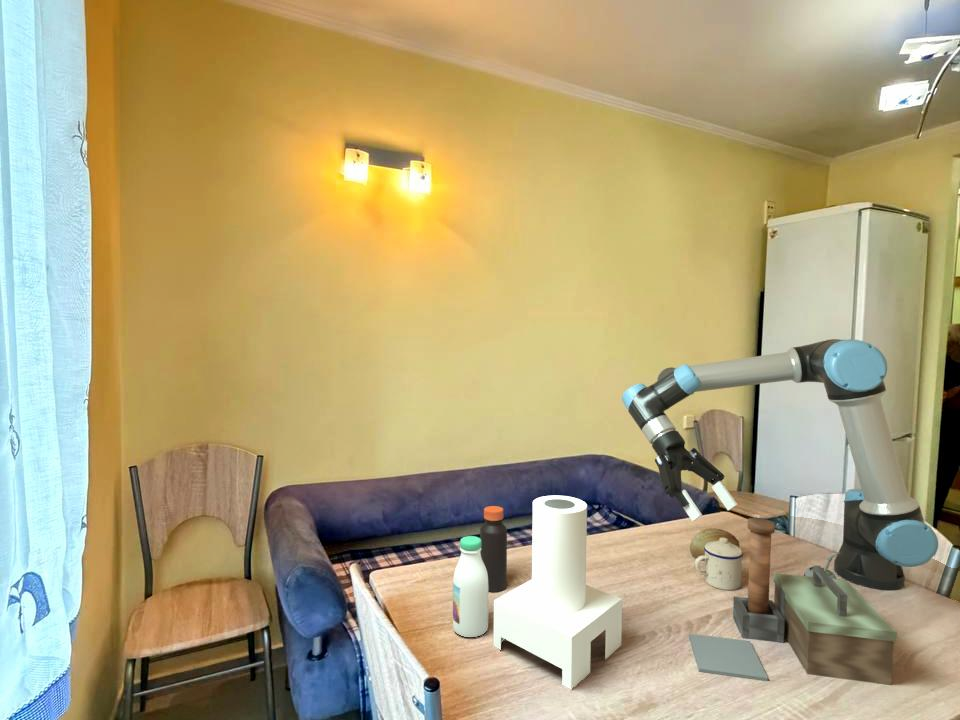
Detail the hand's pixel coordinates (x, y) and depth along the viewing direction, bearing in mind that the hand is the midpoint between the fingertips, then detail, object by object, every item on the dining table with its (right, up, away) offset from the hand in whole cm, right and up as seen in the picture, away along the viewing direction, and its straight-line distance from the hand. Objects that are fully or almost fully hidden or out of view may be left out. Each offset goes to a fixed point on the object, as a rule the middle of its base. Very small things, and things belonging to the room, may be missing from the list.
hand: (715, 512), depth 123 cm
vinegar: (-52, -22, +11) cm, 57 cm away
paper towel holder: (-39, -24, -14) cm, 48 cm away
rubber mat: (-6, -24, -17) cm, 30 cm away
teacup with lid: (+6, -22, +14) cm, 27 cm away
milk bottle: (-57, -23, -8) cm, 62 cm away
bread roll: (+13, -21, +30) cm, 39 cm away
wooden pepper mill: (+6, -23, -8) cm, 25 cm away
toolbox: (+12, -24, -13) cm, 30 cm away
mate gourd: (+27, -23, +3) cm, 35 cm away
